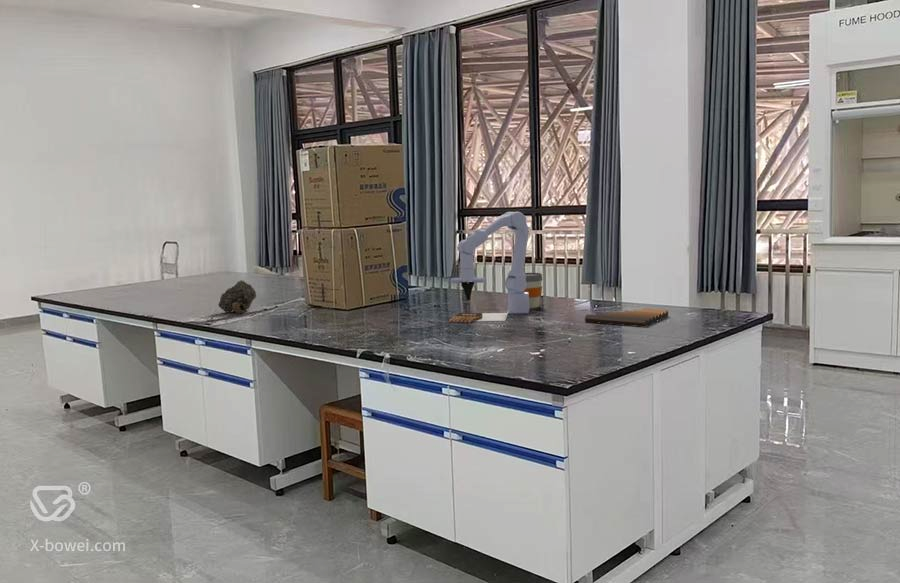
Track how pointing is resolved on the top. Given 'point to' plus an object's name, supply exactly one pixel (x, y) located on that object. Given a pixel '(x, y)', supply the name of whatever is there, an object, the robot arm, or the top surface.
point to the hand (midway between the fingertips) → (468, 299)
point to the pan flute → (629, 317)
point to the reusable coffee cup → (534, 288)
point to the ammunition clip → (466, 317)
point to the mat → (493, 317)
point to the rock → (237, 298)
